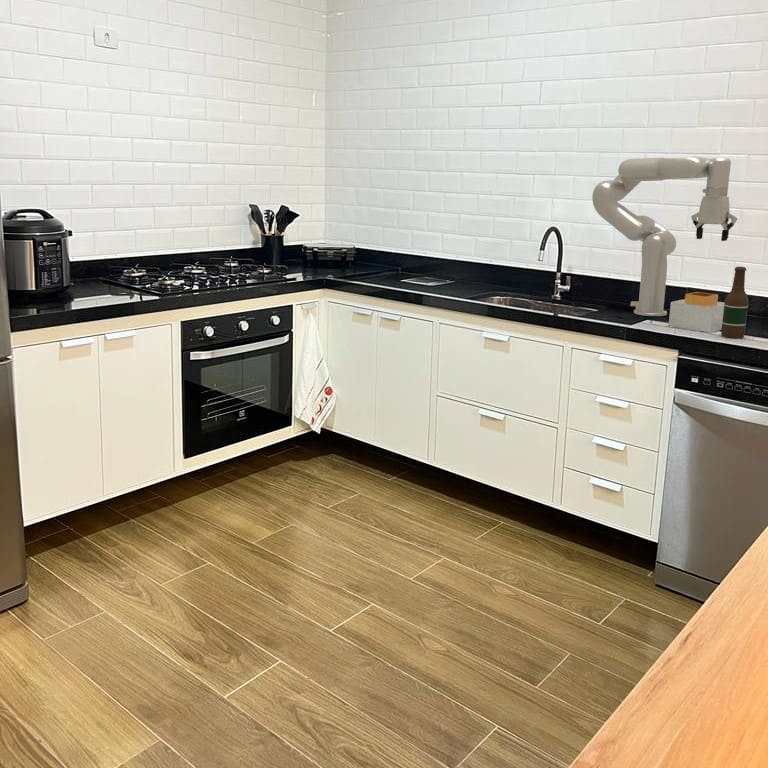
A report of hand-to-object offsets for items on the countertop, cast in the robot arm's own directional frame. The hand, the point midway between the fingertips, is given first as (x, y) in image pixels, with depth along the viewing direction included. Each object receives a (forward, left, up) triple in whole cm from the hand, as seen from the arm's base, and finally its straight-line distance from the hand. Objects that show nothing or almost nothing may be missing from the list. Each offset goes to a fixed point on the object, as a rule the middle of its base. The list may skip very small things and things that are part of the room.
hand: (711, 239), depth 311 cm
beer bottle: (+22, -22, -31) cm, 44 cm away
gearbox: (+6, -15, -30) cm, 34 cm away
